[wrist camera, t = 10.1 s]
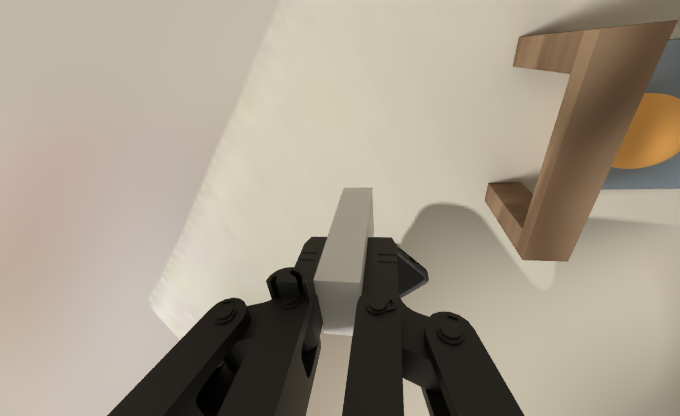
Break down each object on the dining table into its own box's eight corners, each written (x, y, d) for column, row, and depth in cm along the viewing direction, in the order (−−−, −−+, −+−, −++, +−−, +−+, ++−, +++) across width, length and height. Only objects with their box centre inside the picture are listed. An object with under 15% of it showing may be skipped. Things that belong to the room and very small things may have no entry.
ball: (583, 91, 21) (668, 85, 20) (562, 156, 24) (636, 154, 23) (632, 102, 17) (746, 95, 16) (599, 180, 20) (694, 180, 18)
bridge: (563, 32, 20) (677, 20, 12) (516, 200, 27) (568, 261, 19) (519, 37, 20) (600, 28, 12) (484, 200, 27) (522, 260, 20)
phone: (316, 298, 39) (389, 244, 32) (318, 292, 40) (389, 239, 33) (355, 325, 41) (433, 280, 33) (356, 318, 42) (431, 274, 34)
